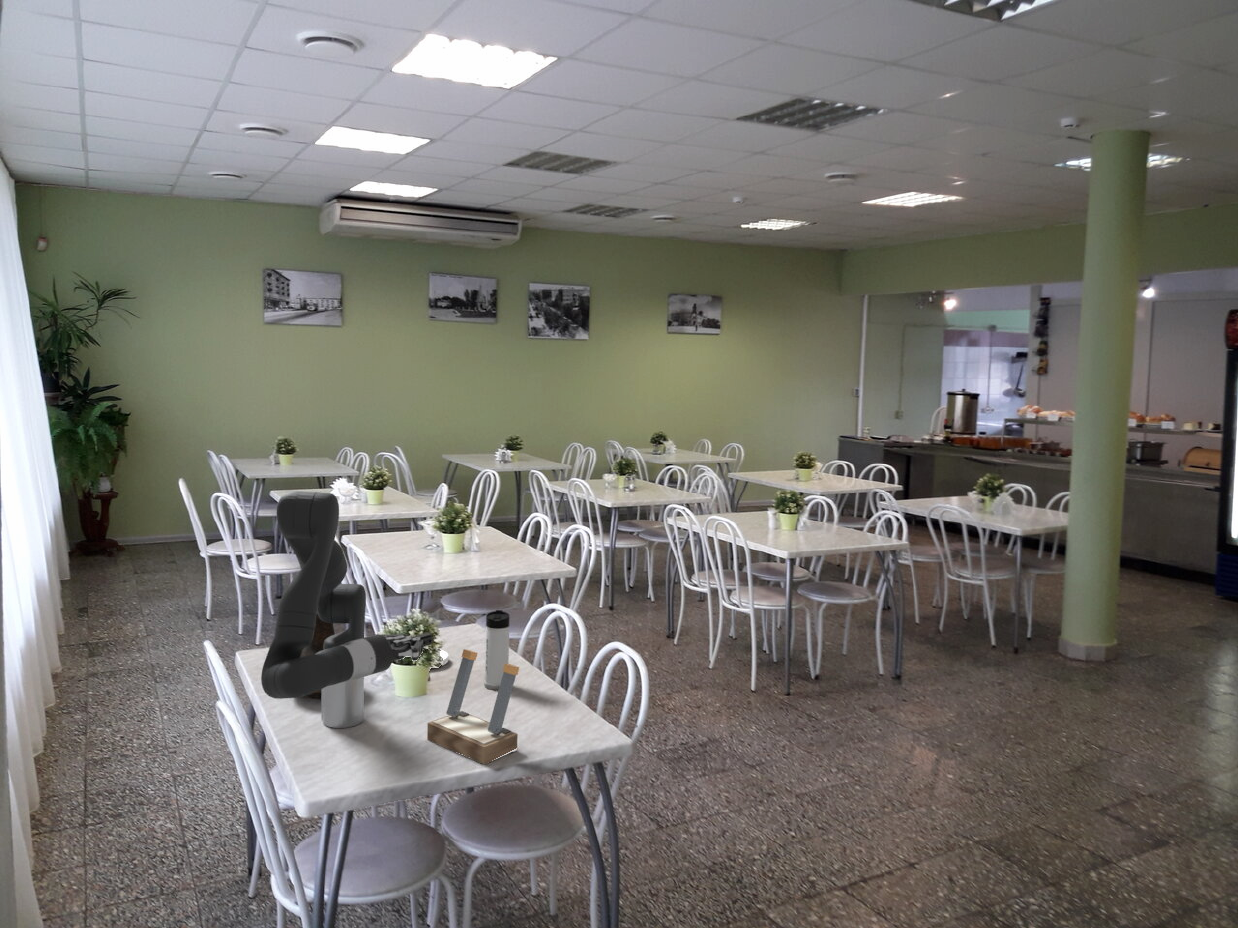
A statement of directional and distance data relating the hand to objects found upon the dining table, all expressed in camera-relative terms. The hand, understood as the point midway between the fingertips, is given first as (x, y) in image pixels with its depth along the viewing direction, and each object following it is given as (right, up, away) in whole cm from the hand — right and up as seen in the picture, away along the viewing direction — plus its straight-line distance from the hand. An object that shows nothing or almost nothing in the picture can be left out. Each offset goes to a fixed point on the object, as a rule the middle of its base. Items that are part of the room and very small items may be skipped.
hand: (431, 637), depth 196 cm
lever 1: (+2, -21, +15) cm, 26 cm away
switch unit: (+7, -26, +11) cm, 30 cm away
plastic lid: (-16, -20, +65) cm, 70 cm away
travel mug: (+7, -22, +50) cm, 55 cm away
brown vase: (-36, -22, +39) cm, 58 cm away
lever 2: (+13, -22, +6) cm, 26 cm away
